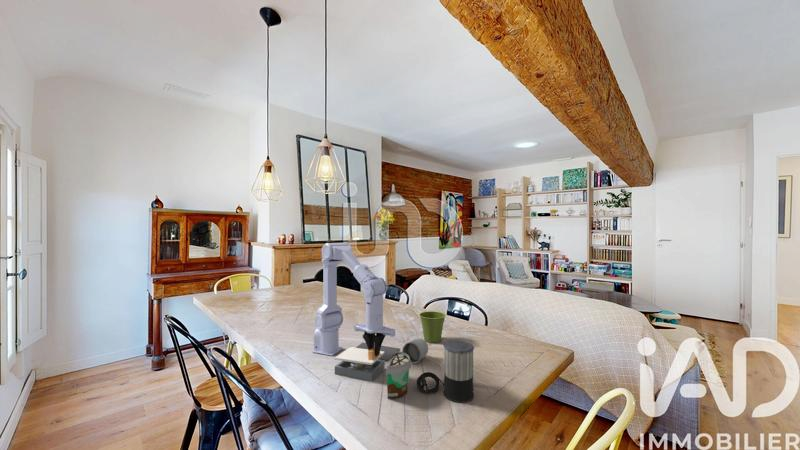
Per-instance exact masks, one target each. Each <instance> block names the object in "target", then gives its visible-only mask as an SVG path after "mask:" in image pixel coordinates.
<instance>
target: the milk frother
mask: <svg viewBox="0 0 800 450" xmlns="http://www.w3.org/2000/svg"><path fill="white" fill-rule="evenodd" d="M442 346H443V348H444V349H443V353H444V354H443V355H444V356H443V357H444V358H443V359H444V362H443V363H444V364H443V367H444V369H443V371H444V373H443V374H444V376H443V381H442V380H441V379H440V378H439V376H437V374H435V373H434V372H430V371H425V372H423V373H421V374H420V375H419V376H418V378H417V379H416V388H417V389H418V390H419V391H420V392H422V393H426V394H433V393H436V392H437V391H438V390H439V388H440V385H441V384H442V385H443V389H442V394H443V396H444V397H445V398H446V399H447V400H450V401H452V402H454V403H467V402H470V401H472V400H473V399H474V397H475V392H474V350H475V345H474V344H473V343H471V342H469V341H467V340H461V339H449V340H447V341H445V342H444V343H443V345H442ZM426 378H431V379H433V381H435V385H434V386H433V387H431V388H428V386H429V383H427V379H426Z"/></svg>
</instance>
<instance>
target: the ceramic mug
mask: <svg viewBox="0 0 800 450" xmlns="http://www.w3.org/2000/svg"><path fill="white" fill-rule="evenodd" d="M401 350H402V351H401V352H404V353H406V354H407V355H408V356H409V358H410V360H411V365H415V364H417V363H419V362H420V361H421V360H422V359H423V358H425V357H426V355H427V354H428V353H429V346H428V342H427V341H425V340H424V338H418V337H417V338H414V339H412V340H410V341H408V342H406V343H405V344H404V345H403V347H402V349H401Z"/></svg>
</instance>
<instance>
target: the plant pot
mask: <svg viewBox="0 0 800 450" xmlns="http://www.w3.org/2000/svg"><path fill="white" fill-rule="evenodd" d="M418 316H419V318H420V322H421V326H422V328H421V329H422V333H423V340H425V341H426V343H439V342H441V340H442V335H443V327H444V322H445V318H446V317H447V314H446V313H444V312H440V311H433V310H432V311H431V310H429V311H422V312H419V314H418Z"/></svg>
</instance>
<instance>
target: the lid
mask: <svg viewBox="0 0 800 450" xmlns="http://www.w3.org/2000/svg"><path fill="white" fill-rule="evenodd" d="M384 353H385V352H384V351H380V353H379V355H378V356H375V346H374V347H373V348H372V349H370V350H369V351H368V349H361V348H356V347H353V346H351V347H350V346H349V347H348V348H347V349H345V350H344V351H342V352H340V353H339V354H338V355H336V356H335V357H334V360H337V361H340V362H341V361H347V362H354V363H360V364H367V365H372V364H373V363H375V362H376V361H377V360H378V359H379V358H380V357H381V356H382V355H383V354H384Z"/></svg>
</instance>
